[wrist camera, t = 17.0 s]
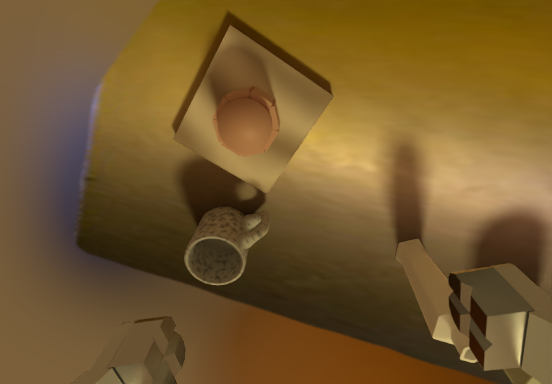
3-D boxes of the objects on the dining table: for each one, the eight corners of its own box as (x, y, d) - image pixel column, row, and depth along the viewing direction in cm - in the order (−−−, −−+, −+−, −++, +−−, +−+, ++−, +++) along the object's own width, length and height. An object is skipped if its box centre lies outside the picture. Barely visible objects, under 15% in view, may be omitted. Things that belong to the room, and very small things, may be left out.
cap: (289, 108, 32) (290, 116, 28) (259, 155, 34) (256, 169, 30) (239, 75, 31) (231, 79, 27) (211, 126, 33) (200, 136, 29)
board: (232, 25, 30) (230, 24, 29) (332, 94, 32) (333, 96, 31) (176, 136, 35) (172, 139, 34) (267, 189, 37) (266, 194, 36)
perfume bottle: (385, 247, 40) (435, 348, 26) (416, 231, 39) (487, 328, 25) (400, 271, 42) (456, 379, 28) (432, 256, 40) (505, 360, 27)
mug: (218, 258, 42) (207, 293, 36) (189, 220, 39) (171, 250, 33) (283, 227, 39) (283, 259, 33) (256, 184, 37) (250, 211, 31)
